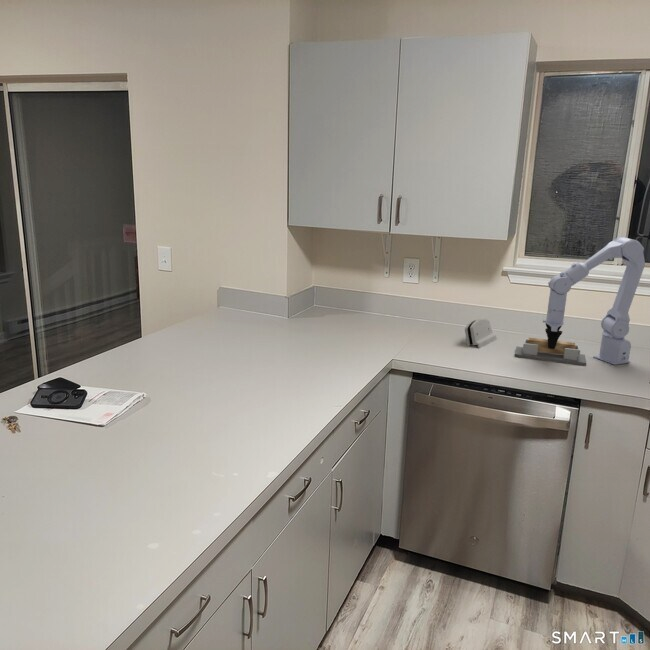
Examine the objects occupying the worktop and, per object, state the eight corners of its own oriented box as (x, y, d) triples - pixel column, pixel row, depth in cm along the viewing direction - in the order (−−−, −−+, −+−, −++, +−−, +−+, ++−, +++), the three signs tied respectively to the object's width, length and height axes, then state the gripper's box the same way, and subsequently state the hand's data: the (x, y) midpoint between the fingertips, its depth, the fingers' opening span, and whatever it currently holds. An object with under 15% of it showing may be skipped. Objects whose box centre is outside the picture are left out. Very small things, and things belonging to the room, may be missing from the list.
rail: (573, 353, 213) (575, 342, 212) (573, 355, 210) (575, 345, 209) (527, 347, 218) (528, 337, 217) (527, 350, 215) (528, 339, 214)
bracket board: (584, 357, 215) (586, 344, 214) (586, 365, 206) (587, 352, 205) (516, 348, 223) (517, 336, 222) (514, 356, 214) (516, 344, 213)
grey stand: (479, 348, 223) (473, 323, 222) (468, 350, 226) (462, 324, 225) (497, 339, 235) (491, 314, 235) (486, 340, 238) (480, 316, 238)
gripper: (544, 303, 218) (540, 338, 222) (544, 312, 205) (539, 349, 208) (564, 305, 216) (559, 341, 219) (565, 314, 202) (560, 352, 206)
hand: (551, 345), depth 214 cm, fingers open, 7 cm apart
